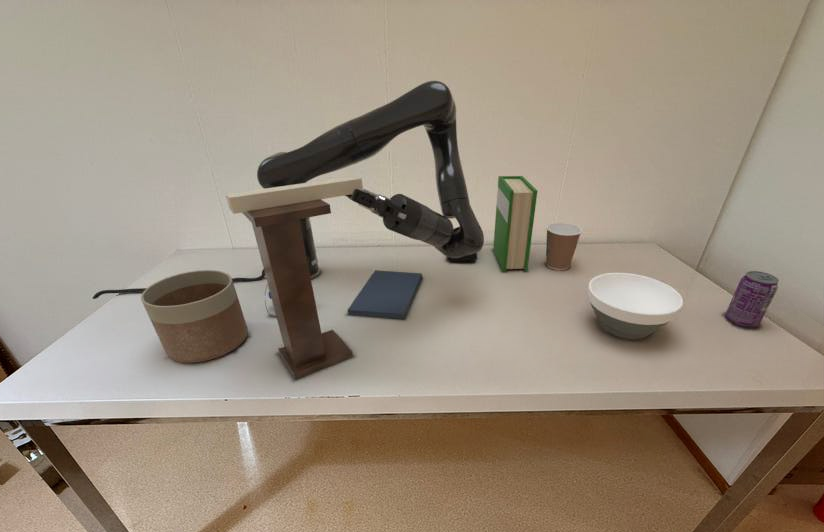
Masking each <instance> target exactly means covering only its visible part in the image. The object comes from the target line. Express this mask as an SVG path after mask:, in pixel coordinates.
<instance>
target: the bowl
mask: <svg viewBox="0 0 824 532" xmlns="http://www.w3.org/2000/svg"><path fill="white" fill-rule="evenodd" d="M587 297H588V300H589V303H590V306H591V308H592V309H593V313H594V315H595V317H596V319H598V322H599V326H600V327H601V328H602V329H603V330H604V331H606V332H607V333H609V334H610V335H612V336H615V337H618V338H621V339H626V340H643V339H645V338H647V337H648V336H650V335H651V334H653V333H656V332H657V331H659V330H660V329H661V328H662V327H665V326H666V325H668V324H669V323H670V322H671V321H672V320H674V319H675V318H676V317H677V316H678V315H679V313H680V312H681V310H682V308H683V306H684V300H683V297H682V295H681V294H680V293H679V291H677V290H676V289H675V288H674V287H672V286H670V285H669V284H667V283H665V282H662V281H661V280H658V279H655V278H652V277H649V276H646V275H641V274H636V273H629V272H607V273H602V274H598V275H597V276H594V277H593V278H591V279H590V281H589V282H588V287H587Z"/></svg>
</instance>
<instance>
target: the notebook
mask: <svg viewBox="0 0 824 532" xmlns="http://www.w3.org/2000/svg"><path fill="white" fill-rule="evenodd" d="M422 280H423V273H420V272H405V271H393V270H378V269H377V270H376V269H374V271H373V273H372V274H371V275H370V277H369V278H368V280H367V281H366V283H365V284H364V285H363V287H362V288H361V290H359V292H358V294H357V296H356V297H355V298H354V300H353V301H352V303H351V304H350V306H349V307H348V309H347V314H348V316H361V317H370V318H384V319H397V320H405V318H406V316H407V313H408V312H409V309H410V307H411V305H412V302H413V300H414V299H415V296H416V293H417V291H418V288H419V287H420V284H421V281H422Z"/></svg>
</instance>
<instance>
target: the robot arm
mask: <svg viewBox="0 0 824 532" xmlns="http://www.w3.org/2000/svg"><path fill="white" fill-rule="evenodd" d="M418 127H424V130H425V132H426V135H427V137H428V140H429V143H430V146H431V149H432V154H433V159H434V161H433V162H434V173H435V174H434V176H435V186H436V191H437V197H438V201H439V206H440V211H441V213H439V212H437V211H435V210H433V209H431V208H430V207H428V206H427V205H425V204H423V203H422V202H419V201H417V200H415V199H414V198H411V197H409V196H407V195H405V194H403V193H396V194H394V195H392V196H391V197H390V198H389V197H387V196H385V195H384V194H381V193H376V192H374V191H371V190H369V189H367V188H363V191H361V190H359V189H354V191H353V194H350V195H344V197H346V198H347V199H349V200H351V201H352V202H354V203H356V204H358V206H360V207H362V208H363V209H367V210H369V211H370V213H372V214H374V215H376V216H378V217H379V218H382V223H383V226H384V227H385V228H386V229H388V230H389V231H391V232H394V233H397V234H399V235H402V236H403V237H406V238H410V239H412V240H416V241H420V242H423V243H424V244H425V243H426V244H428V245H430V246H433V247H434V249H436V250H437V251H438V252H440V253H441V255H443V256H445V257H446V256H447V257H450V258H459V257H463V256H466V255H470V254H474V253H477V254H478V253H479V252H481V250H482V248H483V247H484V242H485V235H484V232H483V229H482V227H481V225H480V222H479V221H478V219H477V217H476V215H475V212H474V210H473V208H472V206H471V203H470V197H469V193H468V187H467V183H466V177H465V174H464V169H463V166H462V161H461V157H460V151H459V144H458V143H459V142H458V133H457V132H458V131H457V130H458V129H457V106H456V102H455V100H454V96H453V94H452V92H451V90H450V88H449V86H448V85H447V84H446V83H444V82H442V81H440V80H429V81H424V82H422V83H421V84H419V85H417V86H415V87H414V88H412V89H411V90H409V91H407V92H405V93H404V94H402V95H400V96H398V97H397V98H395V99H394V100H392V101H390V102H387V103H386V104H383V105H381V106H379V107H376V108H374V109H372V110H370V111H368V112H366V113H364V114H362V115H359V116H357V117H354V118H351V119H350V120H347V121H345V122H343V123H340V124H338V125H336V126H334V127H332V128H331V129H329V130H327V131H324V132H323V133H322V134H320V135H319V136H317V137H316V138H314V139H312V140H311V141H309V142H308V143H306V144H304V145H302V146H300V147H298V148H295V149H293V150H290V151H279V152H276V153H273V154H271V155H269V156H267V157H266V158H264V159H263V160H262V161H261V162H260V163H259V165H258V167H257V171H256V178H257V181H258V183H259V185H260V187H261V189H266V188H273V187H280V186H288V185H295V184H302V183H308V182H309V181H311V180H313V179H315V178H317V177H320V176H323V175H327V174H330V173H333V172H337V171H340V170H342V169H345V168H348V167H350V166H354V165H357V164H359V163H361V162H364V161H367V160H369V159H370V158H372V157H374V156H376V155H377V154H379V153H380V152H381V151H383V150H384V149H385V148H386V147H387V146H388V145H389V144H390V143H391V142H392V141H393V140H394V139H395V138H397V137H398V136H400V135H401V134H404V133H406V132H407V131H410V130H413V129H415V128H418ZM310 218H311V217H309V218H303V219H299V221H300V227H301V232H302V237H303V242H304V247H305V252H306V257H307V262H308V267H309V272H310V277H311V280H313V279H314V278H316V277H318V276H319V275H320V273H321V272H320V271H321V270H320V266H319V262H318V261H319V260H318V256H317V250H316V244H315V239H314V234H313V229H312V224H311V219H310ZM450 219H451V220H453V219H455V220H456V221H457V223H458V225H459V226H457V227H454V224H453V222H452V221H451V220H450ZM447 257H446V258H447ZM231 278H232V280H233V283H234V282H256V281H261V280H263V279H264V278H266V275H265V272H264V268H263V269H262V270H261V275H259V276H258V277H253V278H252V277H231ZM147 288H148V287H145V288H144V287H142V288H141V287H140V288H123V289H122V288H121V289H104V290H100V291H98V292H95V294H94V295H93V296H92V300H95V299H96V300H97V299H98V298H99V297H100V296H102V295H105V294H125V293H127V294H128V293H143V292H144V291H145V290H146V289H147Z"/></svg>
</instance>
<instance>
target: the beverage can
mask: <svg viewBox="0 0 824 532" xmlns="http://www.w3.org/2000/svg"><path fill="white" fill-rule="evenodd" d="M779 282H780V279H779V278H778V277H777V276H775V275H773V274H770V273H768V272H764V271H759V270H748V271H746V273H745V275H743V276H742V277H741V278H740V280H739V281H738V285H737V287H736V289H735V291H734V294H733V295H732V298H731V299H730V302H729V304H728V306H727V309H726V311H725V314H724V315H725V317H726V318H727V319H728V320H729V321H730V322H732V323H734V324H736V325H738V326H741V327H746V328H747V327H757V326H759V325H761V323H762V321H763V319H764V317H765V315H766V313H767V311H768V309H769V307H770V305H771V304H772V302H773V299H774V298H775V295H776V293H777V292H778V289H779V286H778V283H779Z"/></svg>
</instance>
